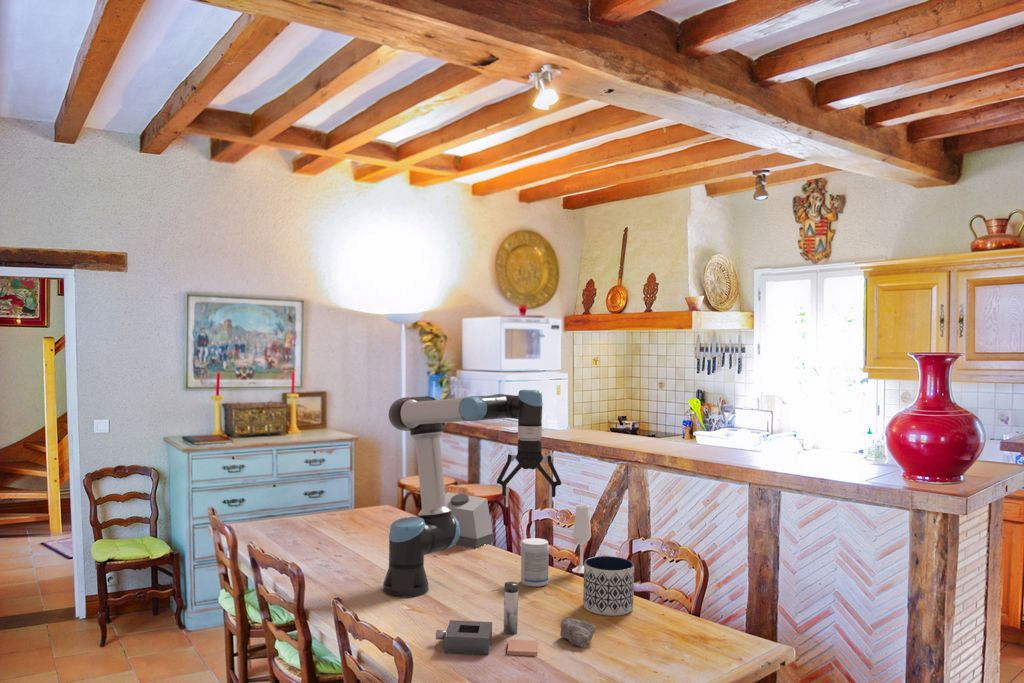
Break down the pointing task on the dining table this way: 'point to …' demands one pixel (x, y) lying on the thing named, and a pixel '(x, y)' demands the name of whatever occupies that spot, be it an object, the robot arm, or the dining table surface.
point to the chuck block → (466, 637)
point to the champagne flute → (581, 531)
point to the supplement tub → (534, 562)
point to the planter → (608, 585)
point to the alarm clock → (471, 519)
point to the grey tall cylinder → (510, 608)
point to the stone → (577, 631)
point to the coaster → (522, 647)
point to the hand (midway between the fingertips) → (528, 507)
